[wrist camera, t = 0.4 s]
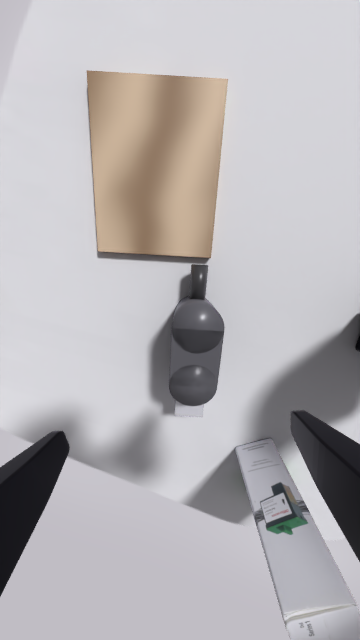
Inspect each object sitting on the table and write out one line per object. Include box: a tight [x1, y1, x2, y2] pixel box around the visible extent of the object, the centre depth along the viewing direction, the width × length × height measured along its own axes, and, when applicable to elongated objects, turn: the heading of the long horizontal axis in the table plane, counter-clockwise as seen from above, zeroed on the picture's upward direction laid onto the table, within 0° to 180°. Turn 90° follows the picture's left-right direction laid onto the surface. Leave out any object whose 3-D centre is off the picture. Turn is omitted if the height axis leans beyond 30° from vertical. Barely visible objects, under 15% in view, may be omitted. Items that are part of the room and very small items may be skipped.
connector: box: [169, 264, 224, 417], centre depth 17 cm, size 4×15×4 cm, turn 177°
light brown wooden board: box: [87, 71, 228, 258], centre depth 15 cm, size 10×12×1 cm
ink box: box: [235, 438, 360, 640], centre depth 18 cm, size 9×5×12 cm, turn 21°
